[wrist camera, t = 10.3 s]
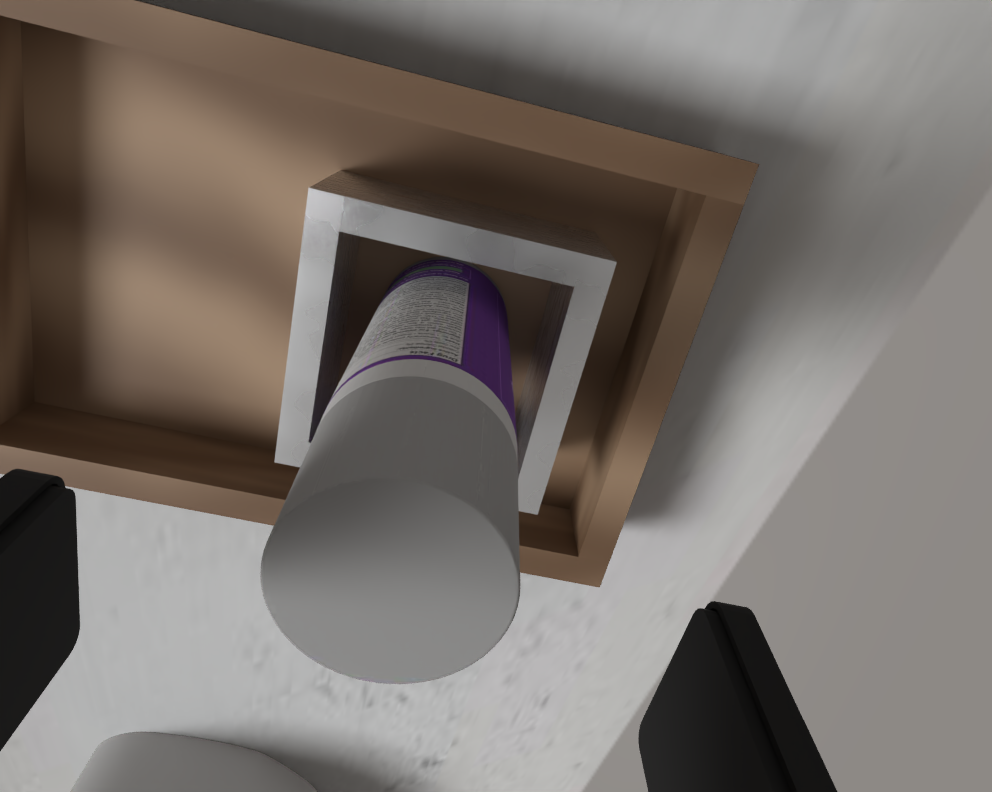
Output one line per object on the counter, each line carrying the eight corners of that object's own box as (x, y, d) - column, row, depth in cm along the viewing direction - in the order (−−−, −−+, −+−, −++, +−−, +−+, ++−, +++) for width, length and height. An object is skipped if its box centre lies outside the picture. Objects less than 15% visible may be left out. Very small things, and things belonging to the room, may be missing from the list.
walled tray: (-6, -37, 21) (-108, -63, 18) (717, 152, 24) (759, 164, 20) (16, 413, 28) (-56, 463, 24) (586, 527, 30) (599, 587, 27)
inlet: (340, 170, 23) (308, 187, 19) (595, 232, 24) (616, 262, 20) (307, 404, 27) (274, 462, 23) (530, 451, 28) (537, 515, 24)
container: (516, 367, 26) (544, 673, 13) (395, 385, 26) (295, 704, 13) (497, 246, 24) (506, 451, 11) (367, 266, 25) (213, 492, 11)
